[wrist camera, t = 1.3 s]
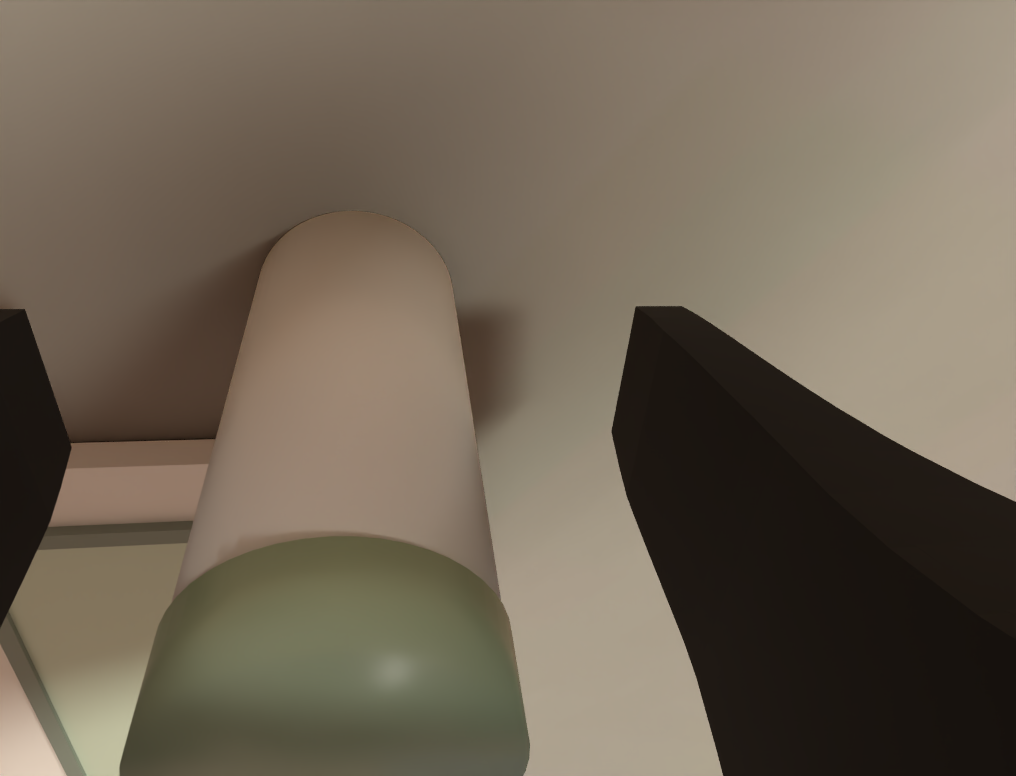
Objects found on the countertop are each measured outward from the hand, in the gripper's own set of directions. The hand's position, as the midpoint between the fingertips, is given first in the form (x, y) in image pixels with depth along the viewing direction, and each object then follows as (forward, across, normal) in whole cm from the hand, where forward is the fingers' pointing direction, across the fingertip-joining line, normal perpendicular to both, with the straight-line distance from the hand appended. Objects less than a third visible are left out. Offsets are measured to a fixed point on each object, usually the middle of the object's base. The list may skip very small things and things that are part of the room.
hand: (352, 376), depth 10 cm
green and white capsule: (+2, 0, 0) cm, 2 cm away
